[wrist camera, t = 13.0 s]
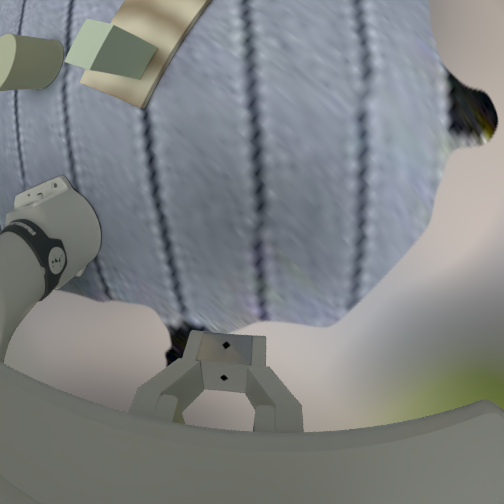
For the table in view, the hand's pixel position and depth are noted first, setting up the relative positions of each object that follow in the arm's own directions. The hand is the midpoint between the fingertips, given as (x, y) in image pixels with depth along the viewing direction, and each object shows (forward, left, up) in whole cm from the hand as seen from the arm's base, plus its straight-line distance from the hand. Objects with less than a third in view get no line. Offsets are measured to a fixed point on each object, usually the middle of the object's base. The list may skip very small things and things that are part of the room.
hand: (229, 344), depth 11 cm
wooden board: (-12, +30, -29) cm, 43 cm away
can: (-36, +22, -29) cm, 51 cm away
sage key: (-16, +18, -27) cm, 36 cm away
